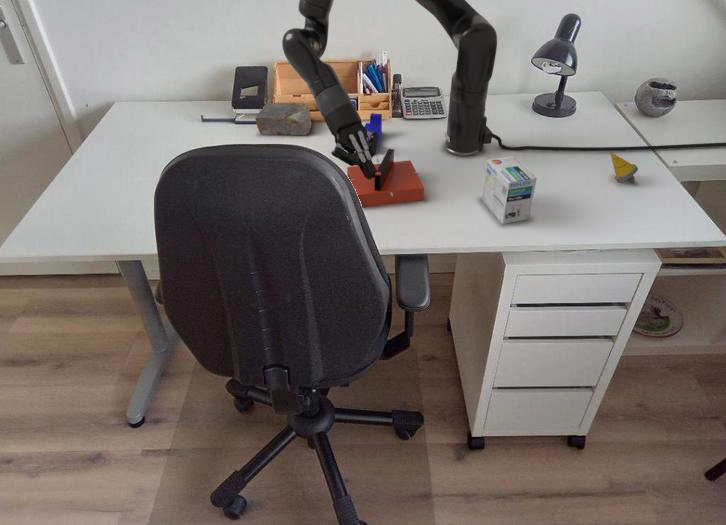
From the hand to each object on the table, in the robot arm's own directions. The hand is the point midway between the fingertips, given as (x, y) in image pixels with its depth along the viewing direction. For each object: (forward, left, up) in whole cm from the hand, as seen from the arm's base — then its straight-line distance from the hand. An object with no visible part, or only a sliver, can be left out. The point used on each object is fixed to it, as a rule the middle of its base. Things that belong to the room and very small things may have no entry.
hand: (372, 177), depth 124 cm
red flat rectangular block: (-4, -4, -6) cm, 8 cm away
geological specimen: (+17, -43, -6) cm, 46 cm away
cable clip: (-5, -28, -6) cm, 29 cm away
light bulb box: (-29, +10, -6) cm, 31 cm away
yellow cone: (-61, +4, -6) cm, 61 cm away
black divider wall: (-4, -4, -2) cm, 6 cm away
